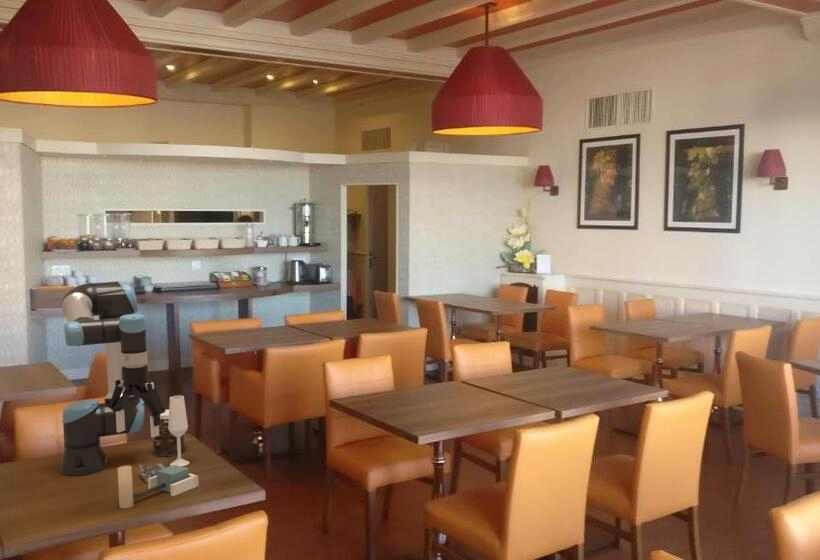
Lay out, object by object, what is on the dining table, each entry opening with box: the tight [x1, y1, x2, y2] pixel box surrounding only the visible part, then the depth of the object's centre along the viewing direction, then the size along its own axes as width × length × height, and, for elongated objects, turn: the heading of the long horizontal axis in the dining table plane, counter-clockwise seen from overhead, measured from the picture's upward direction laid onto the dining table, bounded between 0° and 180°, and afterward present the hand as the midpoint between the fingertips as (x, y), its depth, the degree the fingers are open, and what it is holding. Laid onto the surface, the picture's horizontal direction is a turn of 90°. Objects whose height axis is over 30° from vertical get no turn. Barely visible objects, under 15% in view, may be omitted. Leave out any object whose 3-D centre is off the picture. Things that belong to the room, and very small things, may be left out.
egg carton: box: [138, 463, 166, 483], centre depth 262 cm, size 11×8×4 cm
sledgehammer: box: [117, 465, 190, 509], centre depth 245 cm, size 7×24×12 cm, turn 147°
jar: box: [151, 409, 186, 458], centre depth 288 cm, size 12×12×15 cm
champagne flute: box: [168, 395, 190, 467], centre depth 275 cm, size 7×7×24 cm
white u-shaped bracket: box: [147, 472, 200, 497], centre depth 252 cm, size 12×10×4 cm
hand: (137, 433), depth 238 cm, fingers open, 13 cm apart
